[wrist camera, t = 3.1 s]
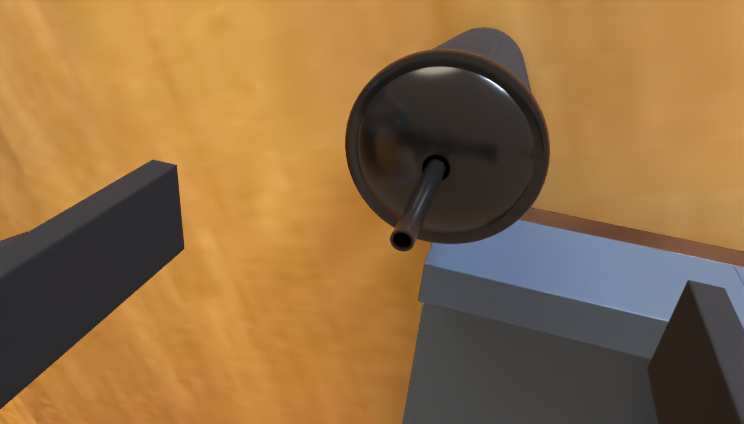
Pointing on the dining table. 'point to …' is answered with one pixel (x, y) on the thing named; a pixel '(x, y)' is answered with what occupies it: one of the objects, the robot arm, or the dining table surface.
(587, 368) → the sofa
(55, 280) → the robot arm
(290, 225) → the dining table surface
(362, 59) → the dining table surface
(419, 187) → the drinking cup
